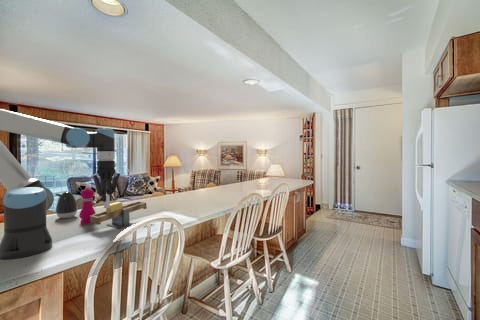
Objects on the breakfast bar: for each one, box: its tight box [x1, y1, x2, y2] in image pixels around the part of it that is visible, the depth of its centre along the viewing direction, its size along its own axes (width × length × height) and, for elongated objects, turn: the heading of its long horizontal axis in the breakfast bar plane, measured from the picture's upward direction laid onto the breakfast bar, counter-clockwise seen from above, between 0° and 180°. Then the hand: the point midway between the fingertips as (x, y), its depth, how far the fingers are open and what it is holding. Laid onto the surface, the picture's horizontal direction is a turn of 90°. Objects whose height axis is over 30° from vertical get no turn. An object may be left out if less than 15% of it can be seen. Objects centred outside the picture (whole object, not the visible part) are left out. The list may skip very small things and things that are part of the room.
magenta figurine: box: [78, 185, 96, 226], centre depth 120 cm, size 7×7×20 cm
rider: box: [105, 201, 123, 214], centre depth 114 cm, size 6×4×4 cm, turn 149°
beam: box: [90, 201, 148, 226], centre depth 117 cm, size 26×7×4 cm, turn 149°
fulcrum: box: [106, 209, 134, 230], centre depth 117 cm, size 8×12×9 cm, turn 59°
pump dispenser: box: [55, 191, 78, 220], centre depth 131 cm, size 10×10×15 cm
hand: (106, 207), depth 110 cm, fingers closed
